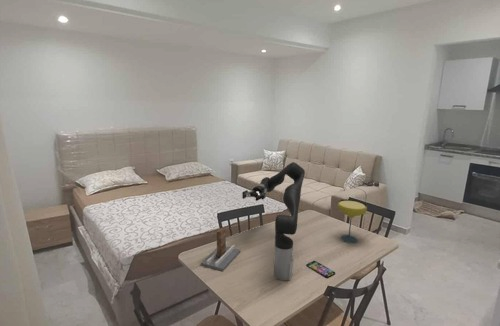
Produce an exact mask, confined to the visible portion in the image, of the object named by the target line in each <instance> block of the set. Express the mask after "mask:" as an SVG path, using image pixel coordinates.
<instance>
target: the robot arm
mask: <svg viewBox="0 0 500 326" xmlns="http://www.w3.org/2000/svg"><path fill="white" fill-rule="evenodd" d="M305 171H306V170H305V169H304V168H303V167H302V166H300V165H299V164H297V163H296V162H290V163H289V164H288V165H286V166H285V167H284V168H282V169H281V170H280V171H279V172H278V173H277V174H274V175H273V176H271V177H268V176H265V177H264V178H262V179H261V180H260V182H259V184H258V185H256V186H254V187H253V188H252V189H251V190H250V191H248V189H246V190H244V191H243V192H242V194H241V195H242V197H241V198H242V199H243V200H245V199H246V198H254V199H255V202H258V201H260V200H265V198H266V197H267V193H270V192H273V191H274V189H275V188H276V187H278V186H280V185H281V184H282V183H284V181H285V179H286V178H285V177H286V176H288V177H289V178H290V179H291V180H293V183H292V184H290V185H288V186H286V187H285V189H284V193H283V197H282V199H283V200H282V201H283V203H284V204H285V207H286V208H287V209H288V211H289V213H290V215H285V214H277V216H275V219H274V222H275V223H274V231H275V232H274V233H275V234H274V237H275V238H274V257H273V276H274V277H275V279H277V280H280V281H290V280H291V278H292V276H293V270H294V269H293V268H294V258H293V254H294V253H293V250H294V241H293V239H292V238H291V237H289V236H287V235H290V236H292V235H295V234H296V233H297V228H298V219H299V216H298V215H299V207H300V202H301V193H302V186H303V183H304V178H305Z"/></svg>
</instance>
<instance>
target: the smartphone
mask: <svg viewBox="0 0 500 326" xmlns="http://www.w3.org/2000/svg"><path fill="white" fill-rule="evenodd" d="M306 267H307V268H309V269H310V270H312V271H314V272H315V273H316V274H318V275H320V276H322V277H323V278H325V279H330V278H331V277H333V276H334V275H336V271H334V270H332V269H331V268H329V267H327V266H326V265H323V263H322V264H321V263H320V262H318V261H317V260H312V261H311V262H308V263H307V264H306ZM329 277H330V278H329Z"/></svg>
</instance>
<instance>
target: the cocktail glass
mask: <svg viewBox="0 0 500 326" xmlns="http://www.w3.org/2000/svg"><path fill="white" fill-rule="evenodd" d="M337 209H338V210H339V211H340V212H341V213H342V214H344V215H346V216H348V218H349V219H350V220H349V228H348V234H343V235H341V236H340V240H341V239H342V241H343V242H344V243H349V244H354V243H357V242H358V238H357V237H355V236H353V235H351V226H352V220H353V219H354V218H355V217H359V216H362V215H364V214H366V213H367V211H368V206H367V204H366V203H365V202H363V201H361V200H356V199H355V200H354V199H341V200H338V203H337Z"/></svg>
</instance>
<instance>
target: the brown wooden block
mask: <svg viewBox="0 0 500 326" xmlns="http://www.w3.org/2000/svg"><path fill="white" fill-rule="evenodd" d="M226 232H227V229H226V228H222V227H221V228H219V229H218V230H217V231H216V248H217V258H221V257H222V256H223V255H224V254H225V253H226V243H227V240H226V239H227V238H226V237H227V234H226Z"/></svg>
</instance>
